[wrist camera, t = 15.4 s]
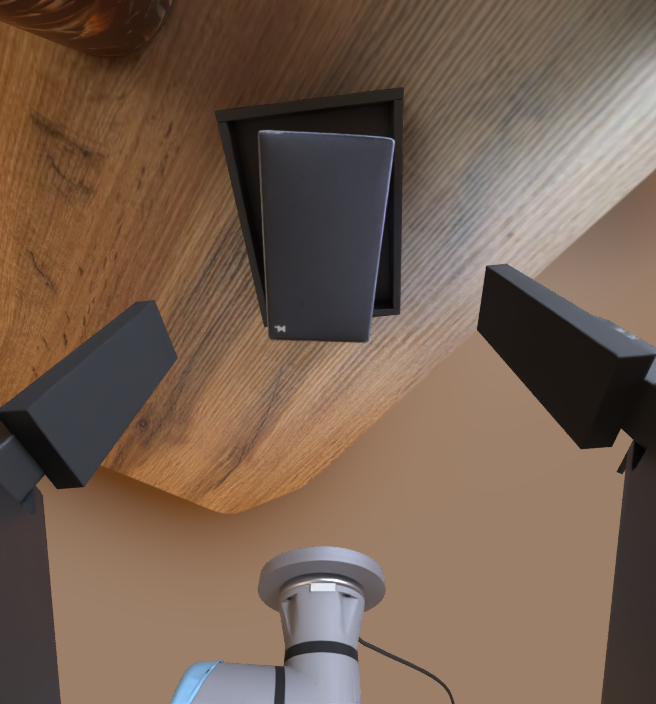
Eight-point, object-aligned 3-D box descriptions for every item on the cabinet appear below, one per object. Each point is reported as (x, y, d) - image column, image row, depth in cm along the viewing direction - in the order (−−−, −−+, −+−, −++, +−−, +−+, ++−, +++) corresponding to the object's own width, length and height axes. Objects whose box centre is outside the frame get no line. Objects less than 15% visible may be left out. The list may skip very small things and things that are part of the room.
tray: (394, 302, 30) (400, 314, 28) (268, 314, 30) (264, 327, 28) (396, 92, 22) (404, 86, 20) (224, 114, 22) (214, 110, 20)
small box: (358, 285, 28) (373, 348, 20) (283, 282, 28) (263, 344, 19) (372, 141, 23) (403, 136, 14) (279, 136, 23) (249, 128, 14)
